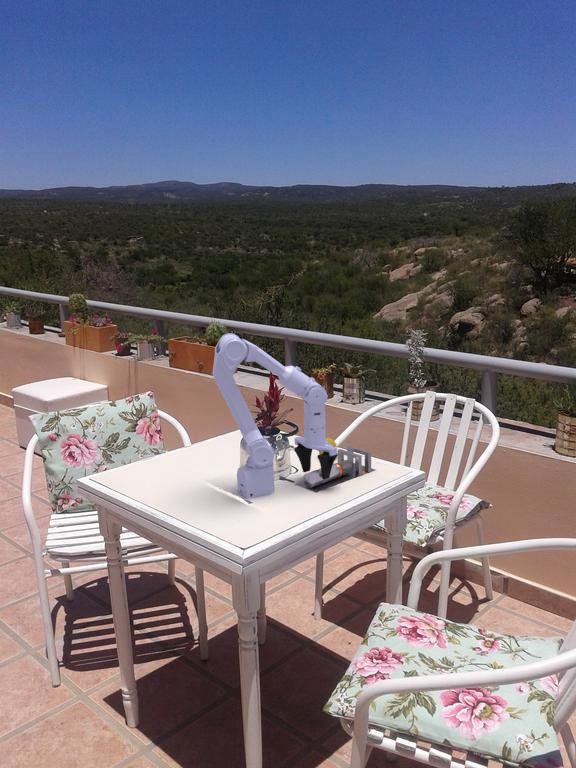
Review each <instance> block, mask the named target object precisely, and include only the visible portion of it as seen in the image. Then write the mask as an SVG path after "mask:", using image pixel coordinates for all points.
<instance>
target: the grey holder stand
mask: <svg viewBox="0 0 576 768" xmlns="http://www.w3.org/2000/svg"><path fill="white" fill-rule="evenodd" d="M337 455H338V456H337V463H338V462H341V461H343V460H345V456H346V460H348V461H349V462H350V463H351V465H352V472H351V473H349V474H347V475H344V476H341V477H339V478H336V479H333V480H330V481H328V482H325V483H322V484H320V485H317V486H314V487H312V488H308V487H307V486H306V485H305V483H304V480H303V481H299V482H296V483H295V484H294V485H295V486H298V487H300V488H303V489H305V490H308V491H310V492H313V493H319V492H322V491H324V490H326V489H330V488H332V487H335V486H337V485H340V484H343V483H345V482H348V481H351V480H354V479H356V478H357V479H358V477H362V476H365V475H367V474H371V473H373V472H375V471H376V469H374V468H372V452H371V451H368V450H365V449H362V448H361V449H360V448H359V447H355V446H351V445H348V446H346V450H344V449H337ZM363 455H364V465H362V463H363V462H362V461H363V459H362V456H363Z"/></svg>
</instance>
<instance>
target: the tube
mask: <svg viewBox="0 0 576 768" xmlns="http://www.w3.org/2000/svg"><path fill="white" fill-rule="evenodd" d="M351 472H352V465H351V463H350V462H349V461H348V460H347V459H344V460H343V461H341V462H338V461H337V462H334V463H333V465H332V469H331V472H330V477H329V478H327V479H322V474H321V467H320V468H318V469H315V470H312V471H308V472H305V473H304V475H303V478H302V480H303V481H304V483H305V485H306V486H307V487H308V488H312V487H314V486H317V485H320V484H322V483H325V482H328V481H330V480H333V479H336V478H339V477H341V476H344V475H347V474H349V473H351Z"/></svg>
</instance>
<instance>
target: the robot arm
mask: <svg viewBox="0 0 576 768" xmlns="http://www.w3.org/2000/svg"><path fill="white" fill-rule="evenodd" d="M243 361H244V362H245V363H254V362H255V363H256V364H259V365H260V366H261V367H263V368H264V369H266V370H268V371H269V372H271V373H272V374H274V375H276V376H277V377H278V382H279V384H280V385H281V386H282V387H284V388H286V389H287V390H288V391H290V392H291V393H293V394H294V395H296V396H297V397H300V398H301V399H302V400H304V401H303V432H304V433H303V435H304V436H300V435H299V436H296V437H294V445H296V447H294V448H293V451H294V452H295V453H296V455H297V458H298V460H299V463H300V465H301V466H300V467H301V469H302V472H303V473H309V472H311V467H312V466H311V465H312V462H311V461H312V460H311V459H312V452H313V450H315V451H317V452H319V451H321V452H323V454H318V455H317V460H318V462H319V464H320V465H319V466H320V468H321V474H322V479H327V478H329V477H330V472H331V469H332V465H333V464H335V461H336V459H337V458H338V451H337V450H338V447H334V446H332V445H331V444H329V443H328V440H327V439H326V435H327V434H326V433H327V432H326V430H327V429H326V408H325V405H326V402H327V400H328V399H329V398H328V396H329V395H328V394H327V391H326V389H325V387H323V386H322V385H320V384H319V383H318V382H317V381H316V379H315V378H314V377H309V376H308V375H307V374H305V373H303V372H302V369H301V368H300V367H299V366H297V365H296V366H293V365H287V366H284V365H283V364H282V363H280V362H279V361H278V360H276V359H275V358H273V357H272V356H271V354H270V355H269V354H268V353H267V352H265V351H264V350H263V349H262V348H260V347H259V346H257V345H256V344H254V343H252V342H250V341H248V340H247V339H244V338H240V337H239V336H238V335H237V334H235V333H229V332H228V333H225V334H223V335H222V336H221V337H220V338H219V340H218V342H217V344H216V346H215V347H214V359H213V366H212V376H213V379H214V382H215V384H216V385H217V387H218V389H219V392H220V393H221V396H222V397H223V399H224V402H225V403H226V405H227V407H228V409H229V411H230V413H231V415H232V417H233V420H234V421H235V423H236V425H237V427H238V429H239V431H240V433H241V436H242V438H243V440H244V449H245V452H246V453H247V455H248V457H247V459H246V462H245V464H244V465H242V466H240V467H238V468H237V471H236V481H237V485H236V486H237V492H238V493H239V494H240V495H242V496H243V497H244V498H243V497H242V499H243V500H244V501H245V502H246V503H248V504H254V503H253V502H252V501H251V500H248V499H252V498H257V497H262V496H264V497H265V496H269V495H272V494H273V493H274V492H275V472H274V458H275V451H274V449H273V447H272V446H270V444H269V443H268V440H267V438H266V437H265V436H263V435H262V434H261V432H260V430H259V428H258V426H257V424H256V421H255V419H254V417H253V415H252V413H251V411H250V409H249V407H248V405H247V403H246V400H245V399H244V397H243V394H242V393H241V390H240V389H239V387H238V385H237V383H236V382H237V381H236V380H235V379H234V375H235V372H236V370H237V369H238V366H239V365H240V364H241V363H242V362H243Z"/></svg>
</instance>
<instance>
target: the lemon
mask: <svg viewBox="0 0 576 768" xmlns="http://www.w3.org/2000/svg"><path fill="white" fill-rule="evenodd" d="M326 439H327V440H328V443H329V444H331V445H332V446H334V447H337V443H336V441H335V440H334V439H332V438H330V437H328V436H327V437H326ZM337 448H338V447H337ZM318 453H319V454H318V455H320V454H323V452H321V451H318Z"/></svg>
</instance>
